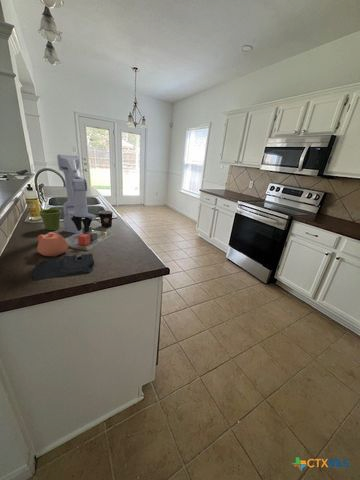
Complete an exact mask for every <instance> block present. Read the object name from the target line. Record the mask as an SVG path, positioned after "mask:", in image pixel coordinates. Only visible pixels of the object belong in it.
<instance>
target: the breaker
mask: <svg viewBox="0 0 360 480" xmlns="http://www.w3.org/2000/svg"><path fill="white" fill-rule="evenodd" d="M91 230H92V226H91V225H90V227H89V231H88V232H85V230H84V226H82V231H81V232H83V234H88V233H90V232H91Z"/></svg>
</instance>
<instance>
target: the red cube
mask: <svg viewBox="0 0 360 480" xmlns="http://www.w3.org/2000/svg"><path fill="white" fill-rule="evenodd" d="M78 243H79V244H80V245H87V244H89V243H90V235H88V234H81V235H79V236H78Z"/></svg>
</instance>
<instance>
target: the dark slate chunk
mask: <svg viewBox="0 0 360 480" xmlns="http://www.w3.org/2000/svg"><path fill="white" fill-rule="evenodd" d="M94 266H95V261H94V255H93V253H91V252H90V253H85V254H82V253H81V255H80V256H77V255H76V254H73V255H64V256H62V258H57V259H56V258H55V259H42V260H38V261H37V263H36V264H35V267H33V272H32V279H33V280H34V281H41V280H46V279H47V280H48V279H49V280H50V279H56V278H59V279H60V278H65V277H66V278H67V277H73V276H74V277H75V276H80V275H87V274H88V275H89V274H91V273H92V272H94Z"/></svg>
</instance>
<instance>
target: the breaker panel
mask: <svg viewBox="0 0 360 480" xmlns="http://www.w3.org/2000/svg"><path fill="white" fill-rule="evenodd" d="M91 232H97V239H95V240H93V241H92V240H90V243H89V244H87V245H80V244H79V243H78V236H79V235H81V234H83V232H82V231H80V232H78V233H74V234H73V235H70V236H68V237H66V238H65V237H64V239H65V240H66V242H67V244H68V248H72V249H77V250H83V251H86V252H87V251H90V250H91V249H93V248H94V247H96V246H98V245H99V244H101V243H103V242H105V241H107V240H108V239H110V238H112V237H114V233H113V232H107V231H101V230H100V231H99V230H95V229H91Z"/></svg>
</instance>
